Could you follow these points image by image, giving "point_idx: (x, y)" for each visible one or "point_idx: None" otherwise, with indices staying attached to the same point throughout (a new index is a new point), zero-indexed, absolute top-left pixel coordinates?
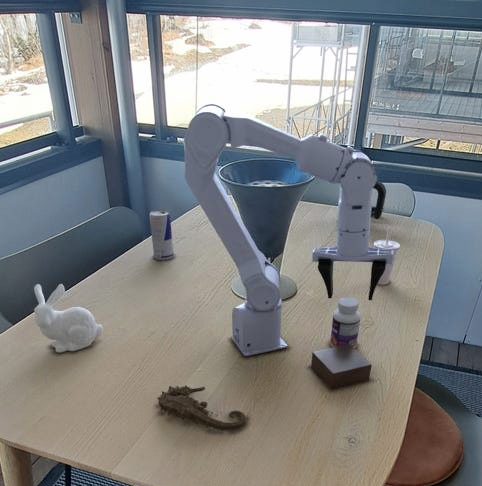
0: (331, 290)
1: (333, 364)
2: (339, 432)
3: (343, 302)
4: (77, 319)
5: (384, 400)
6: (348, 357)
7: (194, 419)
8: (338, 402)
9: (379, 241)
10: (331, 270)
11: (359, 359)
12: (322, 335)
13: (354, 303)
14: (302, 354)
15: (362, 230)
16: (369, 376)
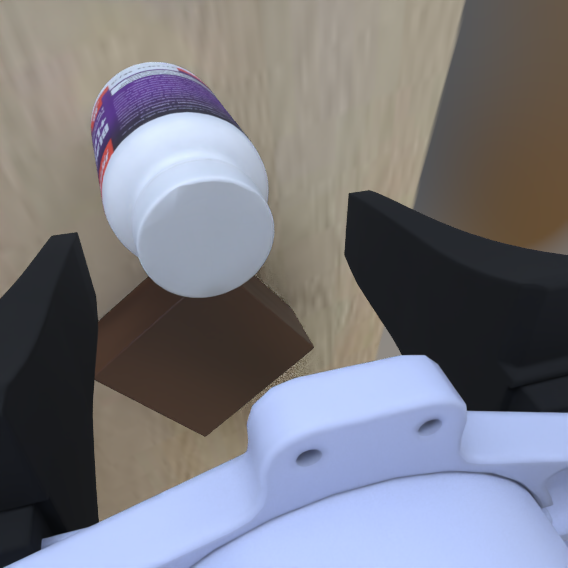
0: (92, 337)
1: (193, 402)
2: None
3: (179, 261)
4: None
5: (335, 363)
6: (234, 347)
7: None
8: (224, 421)
9: None
10: (77, 467)
11: (273, 342)
12: (17, 63)
13: (250, 244)
14: (9, 270)
15: None
16: (297, 318)
